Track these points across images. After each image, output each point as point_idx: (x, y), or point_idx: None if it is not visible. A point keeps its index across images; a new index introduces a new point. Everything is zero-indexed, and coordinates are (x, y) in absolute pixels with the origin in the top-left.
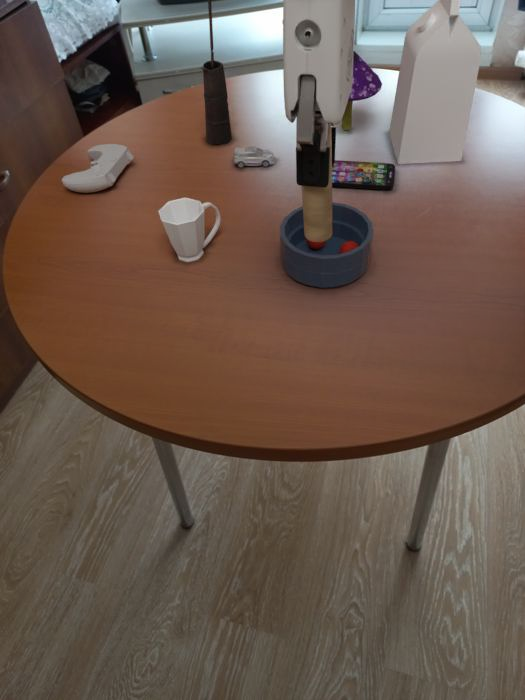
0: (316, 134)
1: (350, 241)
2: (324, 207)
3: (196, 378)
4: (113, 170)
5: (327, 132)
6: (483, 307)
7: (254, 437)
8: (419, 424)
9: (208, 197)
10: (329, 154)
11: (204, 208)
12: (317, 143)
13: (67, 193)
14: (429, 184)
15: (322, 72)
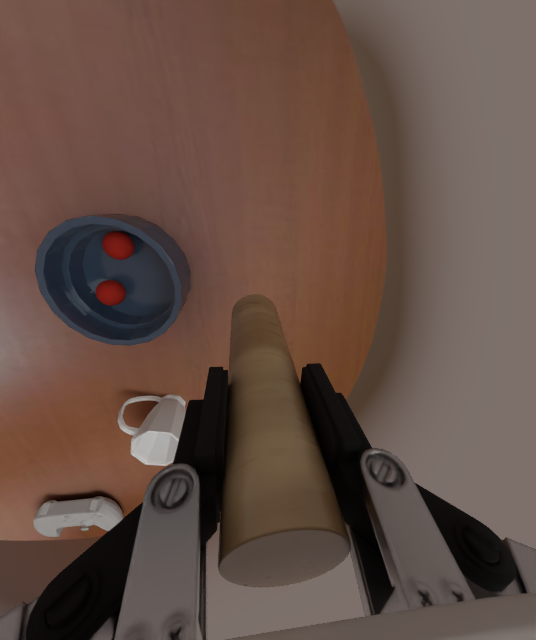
0: (514, 575)
1: (107, 248)
2: (282, 334)
3: (321, 352)
4: (82, 508)
5: (380, 514)
6: (159, 12)
7: (376, 295)
8: (367, 137)
9: (70, 418)
10: (343, 425)
11: (134, 428)
12: (474, 523)
13: (124, 514)
14: None
15: None
